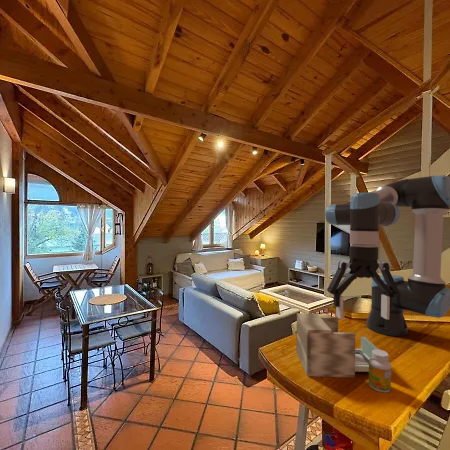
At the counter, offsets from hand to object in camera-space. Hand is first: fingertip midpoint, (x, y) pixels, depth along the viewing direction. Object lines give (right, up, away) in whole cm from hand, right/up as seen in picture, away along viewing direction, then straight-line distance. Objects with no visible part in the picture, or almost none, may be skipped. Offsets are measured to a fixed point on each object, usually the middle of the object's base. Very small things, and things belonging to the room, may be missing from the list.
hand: (362, 317), depth 76 cm
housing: (-8, -18, +8) cm, 22 cm away
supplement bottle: (+3, -19, -3) cm, 19 cm away
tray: (+1, -18, +8) cm, 19 cm away
